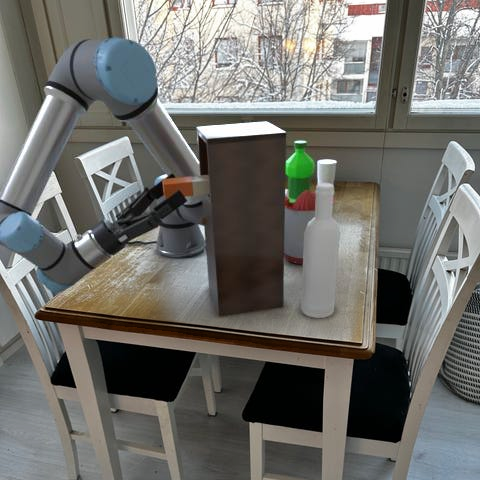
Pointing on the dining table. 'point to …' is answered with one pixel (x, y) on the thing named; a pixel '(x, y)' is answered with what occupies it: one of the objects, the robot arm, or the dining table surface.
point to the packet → (187, 185)
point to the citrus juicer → (298, 224)
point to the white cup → (326, 171)
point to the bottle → (320, 257)
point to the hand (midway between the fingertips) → (179, 186)
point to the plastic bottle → (299, 171)
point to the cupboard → (244, 214)
